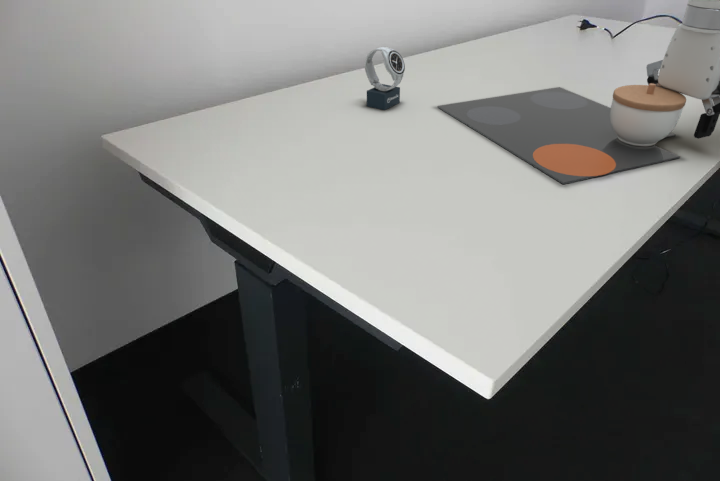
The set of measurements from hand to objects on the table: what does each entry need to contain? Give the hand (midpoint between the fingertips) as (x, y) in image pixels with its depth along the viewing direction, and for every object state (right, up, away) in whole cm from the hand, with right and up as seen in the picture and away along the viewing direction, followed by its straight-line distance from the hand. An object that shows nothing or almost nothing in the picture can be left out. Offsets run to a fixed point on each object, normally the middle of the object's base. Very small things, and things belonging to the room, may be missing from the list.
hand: (676, 126), depth 91 cm
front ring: (-20, -7, -6) cm, 21 cm away
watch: (-49, +8, +18) cm, 53 cm away
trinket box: (-6, -2, +1) cm, 7 cm away
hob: (-17, +1, +6) cm, 18 cm away
